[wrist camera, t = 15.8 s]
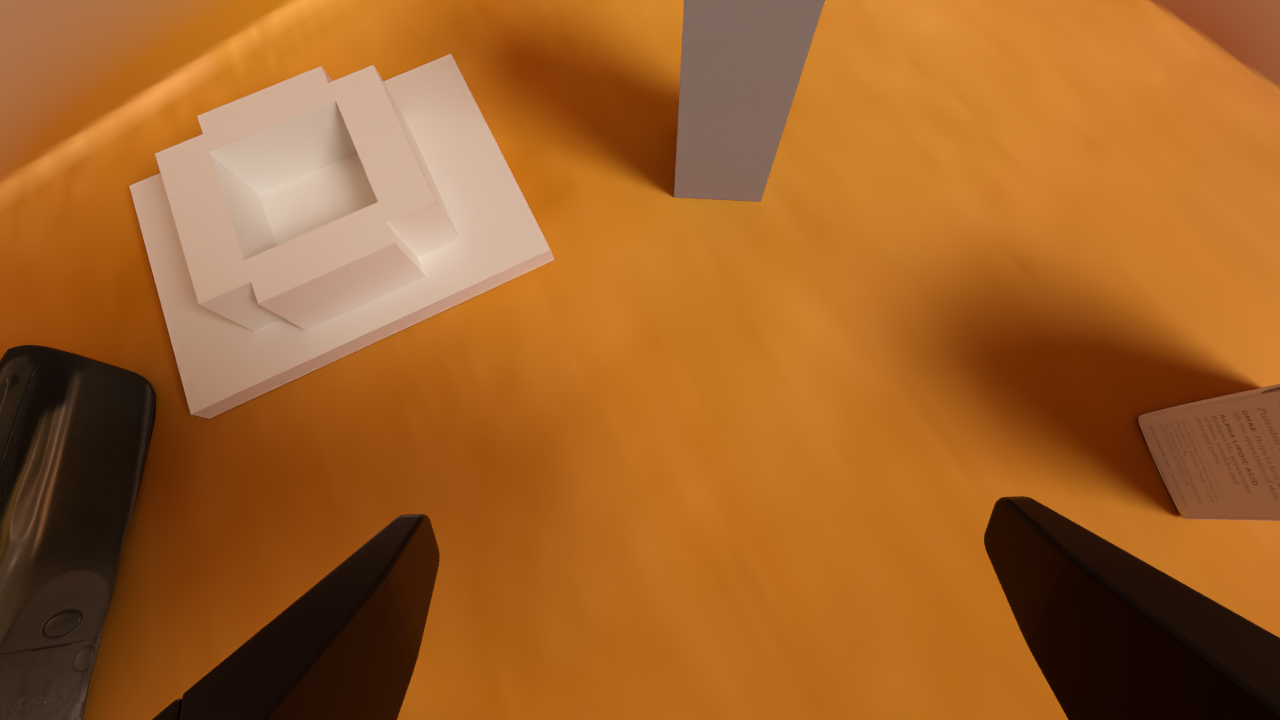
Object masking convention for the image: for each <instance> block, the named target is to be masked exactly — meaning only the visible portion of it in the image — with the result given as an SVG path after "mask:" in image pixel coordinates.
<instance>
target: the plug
mask: <svg viewBox="0 0 1280 720" xmlns="http://www.w3.org/2000/svg"><path fill="white" fill-rule="evenodd" d="M824 1H825V0H684V14H683V33H682V52H681V72H680V91H679V110H678V129H677V148H676V167H675V186H674V197H680V198H700V199H721V200H742V201H761V199H762V196H763V192H764V189H765V186H766V183H767V180H768V177H769V174H770V170H771V167H772V164H773V161H774V158H775V155H776V152H777V148H778V145H779V142H780V139H781V136H782V133H783V130H784V127H785V123H786V120H787V117H788V114H789V111H790V108H791V105H792V101H793V98H794V95H795V92H796V89H797V86H798V83H799V79H800V76H801V73H802V70H803V67H804V64H805V61H806V58H807V54H808V51H809V48H810V45H811V42H812V39H813V36H814V32H815V29H816V26H817V23H818V20H819V17H820V14H821V10H822V7H823V4H824Z"/></svg>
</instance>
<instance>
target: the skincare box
mask: <svg viewBox="0 0 1280 720" xmlns="http://www.w3.org/2000/svg"><path fill="white" fill-rule="evenodd" d="M1138 422H1139V425H1140V428H1141V430H1142V432H1143V435H1144V438H1145V441H1146V443H1147V445H1148V447H1149V450H1150V452H1151V455H1152V457H1153V459H1154V461H1155V463H1156V466H1157V468H1158V470H1159V473H1160V475H1161V477H1162V479H1163V481H1164V483H1165V485H1166V487H1167V489H1168V491H1169V494H1170V496H1171V498H1172V500H1173V502H1174V504H1175V505H1176V507H1177V509H1178V511H1179V512H1180V514H1181V516H1182V517H1183V518H1186V519H1207V520H1257V521H1280V384H1278V385H1273V386H1268V387H1263V388H1258V389H1253V390H1248V391H1243V392H1239V393H1234V394H1229V395H1224V396H1219V397H1215V398H1210V399H1205V400H1201V401H1196V402H1192V403H1187V404H1183V405H1179V406H1174V407H1170V408H1166V409H1162V410H1158V411H1154V412H1150V413H1146V414H1143V415H1140V416H1139V420H1138Z"/></svg>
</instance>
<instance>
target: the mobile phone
mask: <svg viewBox="0 0 1280 720" xmlns="http://www.w3.org/2000/svg"><path fill="white" fill-rule="evenodd" d="M155 406H156V397H155V392H154V391H153V388H152V386H151V384H150V383H149V382H148V381H147V380H146V379H145V378H144V377H142V376H140V375H139V374H136V373H134V372H131V371H128V370H125V369H122V368H119V367H115V366H112V365H109V364H106V363H103V362H99V361H96V360H93V359H90V358H87V357H83V356H80V355H76V354H73V353H69V352H65V351H61V350H57V349H54V348H49V347H44V346H36V345H24V346H18V347H14V348H11V349H8V350H7V352H6V353H5V354H4V356H3V358H2V359H1V361H0V720H82V719H83V713H84V708H85V703H86V697H87V692H88V686H89V681H90V676H91V672H92V669H93V667H94V665H95V661H96V657H97V652H98V648H99V643H100V637H101V632H102V628H103V624H104V620H105V618H106V615H107V612H108V609H109V606H110V602H111V599H112V595H113V590H114V586H115V581H116V576H117V571H118V566H119V561H120V556H121V551H122V546H123V542H124V538H125V535H126V531H127V528H128V524H129V521H130V518H131V514H132V511H133V508H134V504H135V501H136V497H137V493H138V489H139V485H140V481H141V476H142V472H143V468H144V464H145V459H146V455H147V452H148V447H149V443H150V439H151V434H152V430H153V425H154V420H155Z"/></svg>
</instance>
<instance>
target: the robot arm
mask: <svg viewBox="0 0 1280 720" xmlns="http://www.w3.org/2000/svg"><path fill="white" fill-rule="evenodd" d="M984 544H985V548H986V551H987V554H988V556H989V559H990V561H991V563H992V565H993V568H994V570H995V572H996V575H997V577H998V579H999V582H1000V584H1001V586H1002V589H1003V591H1004V593H1005V596H1006V598H1007V600H1008V602H1009V605H1010V607H1011V609H1012V612H1013V614H1014V616H1015V619H1016V621H1017V623H1018V626H1019V628H1020V630H1021V632H1022V634H1023V637H1024V639H1025V641H1026V643H1027V645H1028V647H1029V649H1030V651H1031V653H1032V654H1033V656H1034V658H1035V660H1036V662H1037V664H1038V666H1039V667H1040V669H1041V671H1042V673H1043V675H1044V676H1045V678H1046V680H1047V682H1048V684H1049V685H1050V687H1051V689H1052V691H1053V693H1054V694H1055V696H1056V698H1057V700H1058V702H1059V704H1060V705H1061V707H1062V709H1063V711H1064V713H1065V714H1066V716H1067V718H1068V720H1280V638H1279V637H1277V636H1275V635H1274V634H1272V633H1270V632H1268V631H1266V630H1265V629H1263V628H1261V627H1259V626H1258V625H1256V624H1254V623H1252V622H1250V621H1249V620H1247V619H1245V618H1243V617H1242V616H1240V615H1238V614H1236V613H1234V612H1233V611H1231V610H1229V609H1227V608H1226V607H1224V606H1222V605H1220V604H1218V603H1217V602H1215V601H1213V600H1211V599H1210V598H1208V597H1206V596H1204V595H1202V594H1201V593H1199V592H1197V591H1195V590H1194V589H1192V588H1190V587H1188V586H1186V585H1185V584H1183V583H1181V582H1179V581H1178V580H1176V579H1174V578H1172V577H1170V576H1169V575H1167V574H1165V573H1163V572H1162V571H1160V570H1158V569H1156V568H1154V567H1153V566H1151V565H1149V564H1147V563H1146V562H1144V561H1142V560H1140V559H1138V558H1137V557H1135V556H1133V555H1131V554H1130V553H1128V552H1126V551H1124V550H1122V549H1121V548H1119V547H1117V546H1115V545H1114V544H1112V543H1110V542H1108V541H1106V540H1105V539H1103V538H1101V537H1099V536H1098V535H1096V534H1094V533H1092V532H1090V531H1089V530H1087V529H1085V528H1083V527H1082V526H1080V525H1078V524H1076V523H1074V522H1073V521H1071V520H1069V519H1067V518H1066V517H1064V516H1062V515H1060V514H1058V513H1057V512H1055V511H1053V510H1051V509H1050V508H1048V507H1046V506H1044V505H1042V504H1041V503H1039V502H1037V501H1035V500H1034V499H1032V498H1029V497H1024V496H1020V497H1002V498H1000V499H998V500H997V501H996V503H995V505H994V508H993V511H992V514H991V517H990V520H989V523H988V526H987V529H986V532H985V535H984ZM438 566H439V549H438V545H437V542H436V539H435V535H434V532H433V528H432V525H431V522H430V519H429V518H428V516H427V515H424V514H406V515H401V516H399V517H397V518H396V519H395V520H393V521H392V522H391V523H390V524H389V525H387V526H386V527H385V528H384V529H383V530H381V531H380V532H379V533H378V534H376V535H375V536H374V537H373V538H372V539H370V540H369V541H368V542H367V543H366V544H364V545H363V546H362V547H361V548H360V549H358V550H357V551H356V552H355V553H353V554H352V555H351V556H350V557H349V558H347V559H346V560H345V561H344V562H343V563H341V564H340V565H339V566H338V567H337V568H335V569H334V570H333V571H332V572H330V573H329V574H328V575H327V576H326V577H324V578H323V579H322V580H321V581H320V582H318V583H317V584H316V585H315V586H314V587H312V588H311V589H310V590H309V591H307V592H306V593H305V594H304V595H303V596H301V597H300V598H299V599H298V600H297V601H295V602H294V603H293V604H292V605H290V606H289V607H288V608H287V609H286V610H284V611H283V612H282V613H281V614H280V615H278V616H277V617H276V618H275V619H274V620H272V621H271V622H270V623H269V624H267V625H266V626H265V627H264V628H263V629H261V630H260V631H259V632H258V633H257V634H255V635H254V636H253V637H252V638H251V639H249V640H248V641H247V642H246V643H244V644H243V645H242V646H241V647H240V648H238V649H237V650H236V651H235V652H234V653H232V654H231V655H230V656H229V657H228V658H226V659H225V660H224V661H223V662H221V663H220V664H219V665H218V666H217V667H215V668H214V669H213V670H212V671H211V672H209V673H208V674H207V675H206V676H204V677H203V678H202V679H201V680H200V681H198V682H197V683H196V684H195V685H194V686H192V687H191V688H190V689H189V690H188V691H186V692H185V693H184V694H183V697H182V699H177V700H175V701H174V702H173V703H171V704H170V705H169V706H168V707H167V708H165V709H164V710H163V711H162V712H161V713H159V714H158V715H157V716H156V717H155V718H153V719H152V720H397V718H398V715H399V712H400V709H401V706H402V703H403V700H404V697H405V694H406V691H407V688H408V686H409V683H410V680H411V677H412V674H413V671H414V667H415V664H416V661H417V657H418V653H419V650H420V646H421V641H422V637H423V633H424V628H425V624H426V619H427V615H428V611H429V606H430V602H431V597H432V593H433V589H434V584H435V580H436V575H437V571H438Z"/></svg>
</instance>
